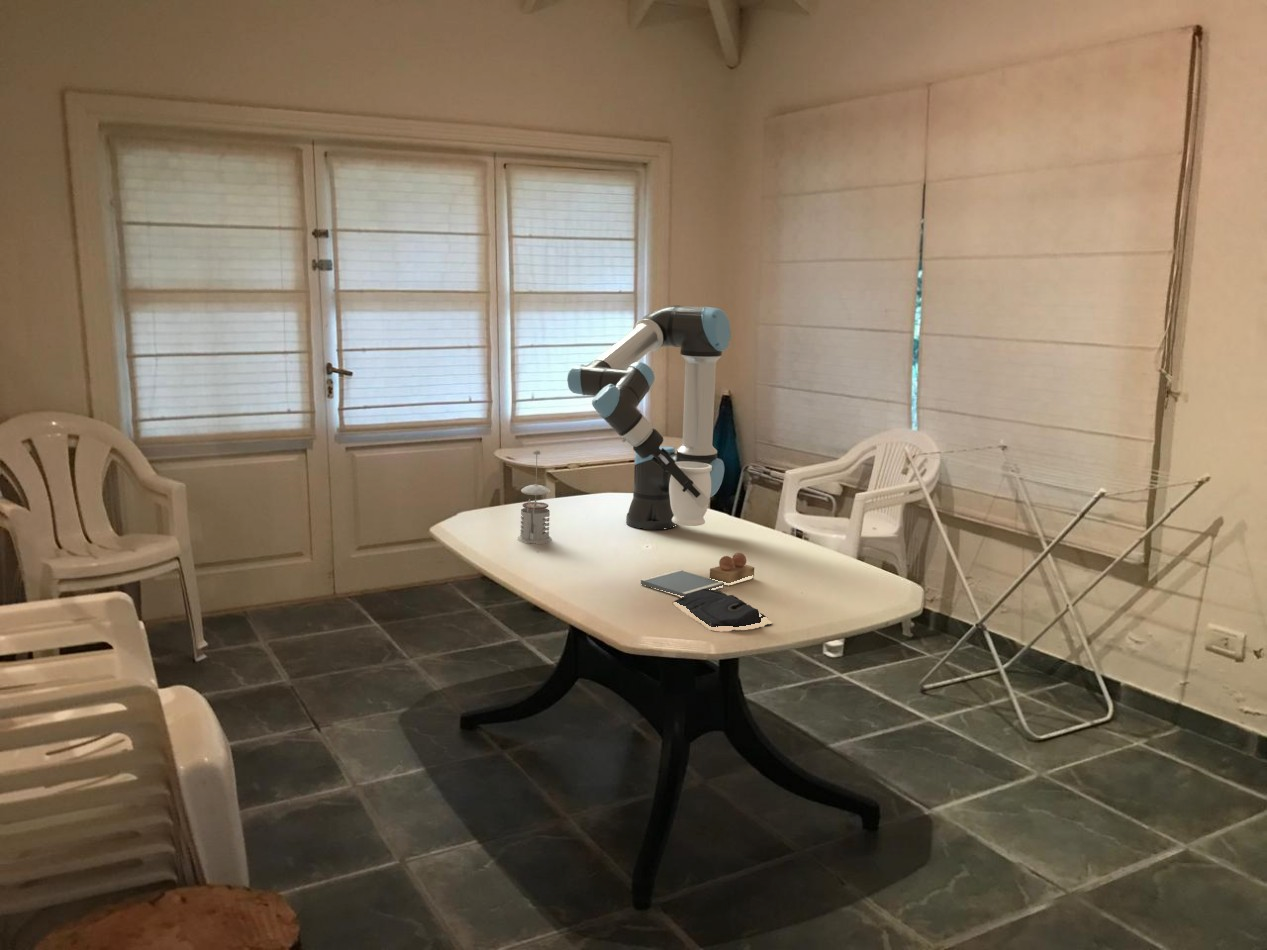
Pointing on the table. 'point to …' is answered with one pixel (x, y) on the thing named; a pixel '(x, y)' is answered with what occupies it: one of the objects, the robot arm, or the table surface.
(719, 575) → the ball rack
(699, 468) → the jar
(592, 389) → the robot arm
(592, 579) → the table surface
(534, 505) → the french press
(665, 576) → the slate card
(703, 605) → the dark flat piece
